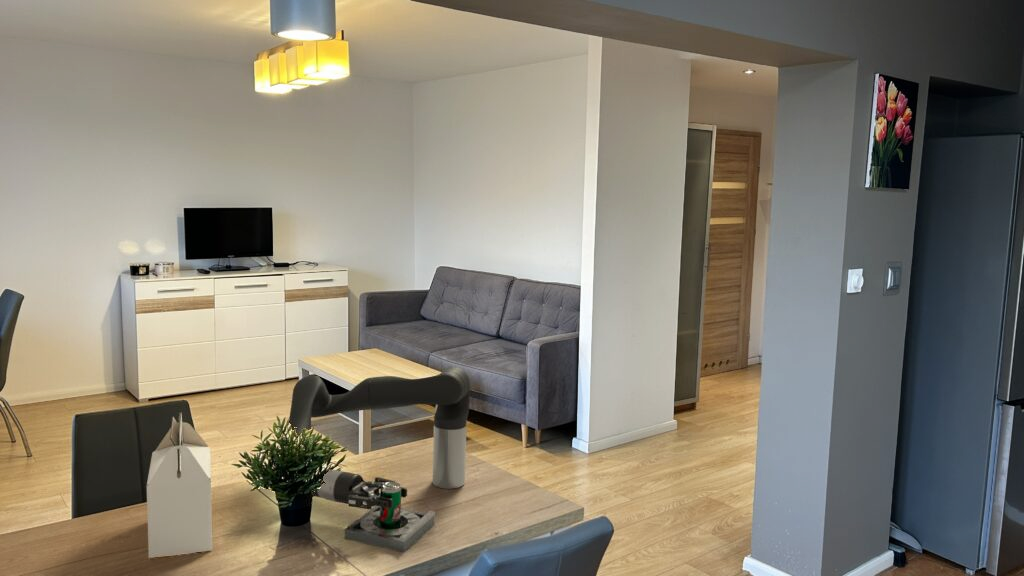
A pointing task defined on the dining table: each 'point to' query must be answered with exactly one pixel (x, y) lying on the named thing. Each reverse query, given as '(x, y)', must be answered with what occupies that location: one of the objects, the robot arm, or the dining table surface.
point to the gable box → (179, 493)
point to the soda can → (392, 516)
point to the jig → (390, 539)
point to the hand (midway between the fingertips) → (399, 498)
